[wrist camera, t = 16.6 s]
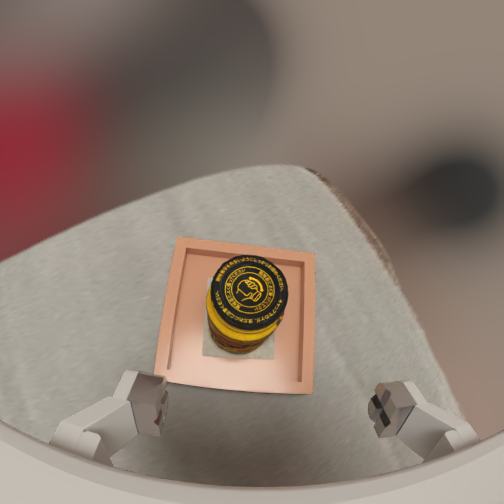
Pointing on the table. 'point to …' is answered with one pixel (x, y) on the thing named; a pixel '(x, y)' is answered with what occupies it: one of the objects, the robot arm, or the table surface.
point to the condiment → (244, 308)
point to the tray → (193, 314)
